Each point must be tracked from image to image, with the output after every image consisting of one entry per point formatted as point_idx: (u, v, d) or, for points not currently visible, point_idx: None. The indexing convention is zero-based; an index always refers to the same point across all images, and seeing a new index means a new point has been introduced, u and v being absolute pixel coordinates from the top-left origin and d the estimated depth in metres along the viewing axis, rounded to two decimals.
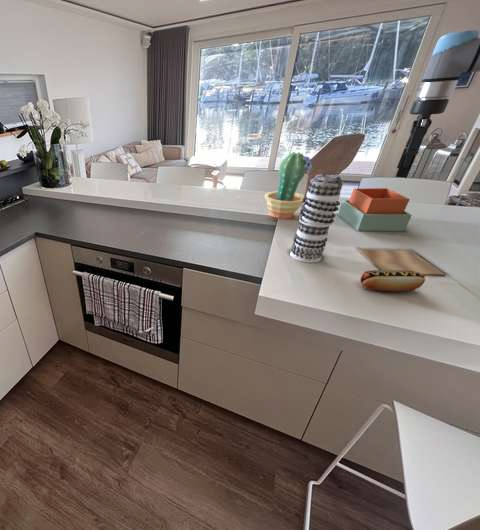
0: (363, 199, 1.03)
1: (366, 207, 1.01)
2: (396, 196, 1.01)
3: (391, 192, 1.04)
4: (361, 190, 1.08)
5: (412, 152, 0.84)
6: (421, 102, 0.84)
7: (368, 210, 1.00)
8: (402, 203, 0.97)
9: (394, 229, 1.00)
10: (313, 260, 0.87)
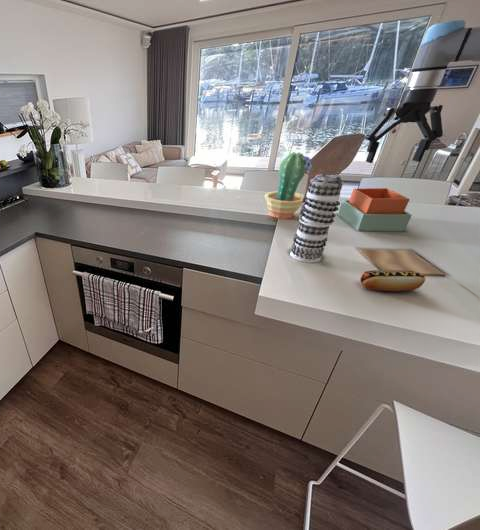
0: (363, 199, 1.03)
1: (366, 207, 1.01)
2: (396, 196, 1.01)
3: (391, 192, 1.04)
4: (361, 190, 1.08)
5: (366, 137, 0.95)
6: None
7: (368, 210, 1.00)
8: (402, 203, 0.97)
9: (394, 229, 1.00)
10: (313, 260, 0.87)
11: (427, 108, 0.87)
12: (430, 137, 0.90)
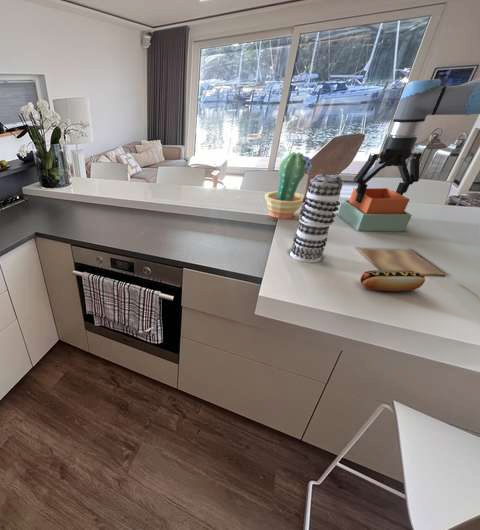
0: (363, 199, 1.03)
1: (366, 207, 1.01)
2: (396, 196, 1.01)
3: (391, 192, 1.04)
4: None
5: (355, 180, 1.02)
6: (386, 138, 0.95)
7: (368, 210, 1.00)
8: (402, 203, 0.97)
9: (394, 229, 1.00)
10: (313, 260, 0.87)
11: (408, 154, 0.94)
12: (408, 181, 0.98)
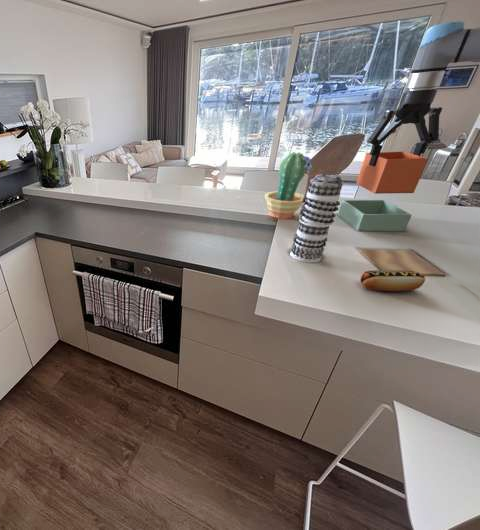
0: (377, 162, 0.96)
1: (381, 170, 0.94)
2: (413, 157, 0.94)
3: (407, 154, 0.97)
4: None
5: (369, 141, 0.95)
6: (403, 93, 0.89)
7: (383, 172, 0.93)
8: (421, 163, 0.90)
9: (394, 229, 1.00)
10: (313, 260, 0.87)
11: (427, 109, 0.87)
12: (426, 140, 0.91)
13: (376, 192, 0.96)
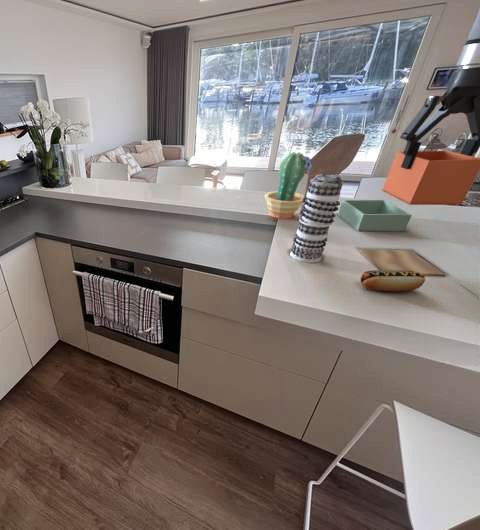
0: (413, 163, 0.74)
1: (419, 174, 0.72)
2: (461, 158, 0.72)
3: (452, 154, 0.75)
4: None
5: (403, 136, 0.73)
6: (453, 72, 0.67)
7: (423, 177, 0.71)
8: (474, 165, 0.68)
9: (394, 229, 1.00)
10: (313, 260, 0.87)
11: None
12: None
13: (411, 203, 0.74)
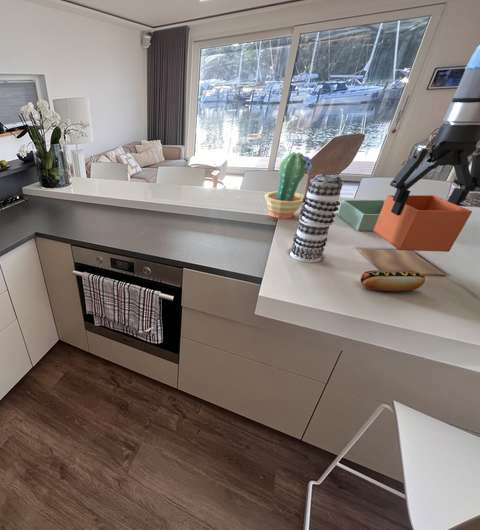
0: (403, 210, 0.75)
1: (408, 222, 0.74)
2: (449, 206, 0.74)
3: (441, 201, 0.76)
4: None
5: (393, 184, 0.74)
6: (440, 126, 0.68)
7: (411, 226, 0.73)
8: (461, 216, 0.69)
9: None
10: (313, 260, 0.87)
11: (472, 148, 0.67)
12: (468, 187, 0.71)
13: (401, 249, 0.76)
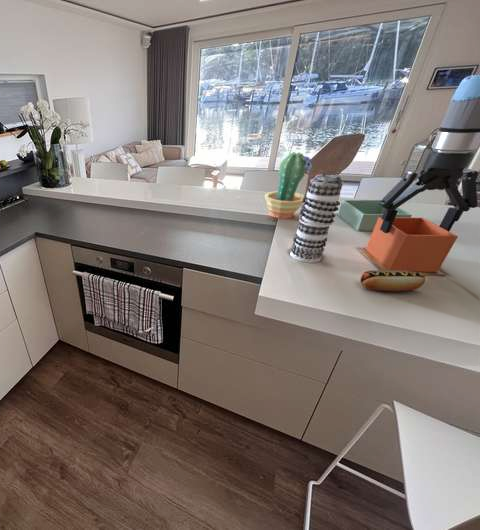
0: (393, 233, 0.79)
1: (397, 245, 0.77)
2: (437, 230, 0.77)
3: (429, 224, 0.80)
4: None
5: (381, 204, 0.77)
6: (429, 152, 0.71)
7: (401, 249, 0.76)
8: (447, 241, 0.73)
9: None
10: (313, 260, 0.87)
11: (459, 174, 0.70)
12: (461, 207, 0.73)
13: None
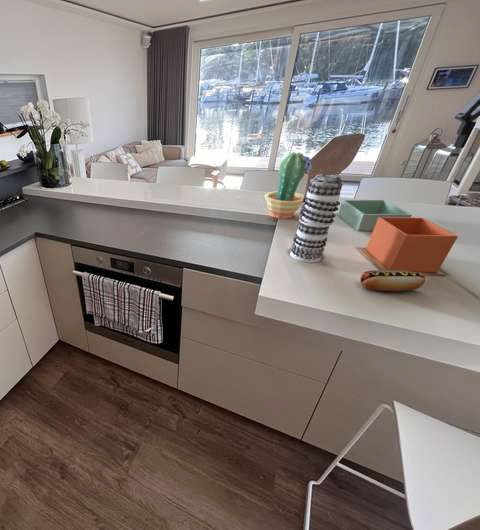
0: (393, 233, 0.79)
1: (397, 245, 0.77)
2: (437, 230, 0.77)
3: (429, 224, 0.80)
4: (388, 219, 0.84)
5: (458, 116, 0.78)
6: None
7: (401, 249, 0.76)
8: (447, 241, 0.73)
9: None
10: (313, 260, 0.87)
11: None
12: None
13: None
